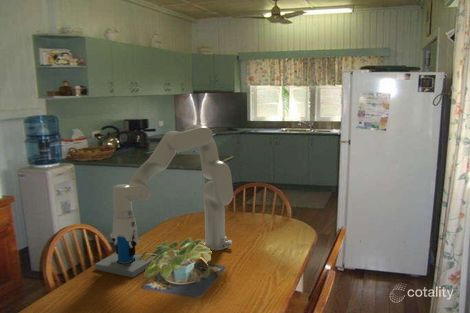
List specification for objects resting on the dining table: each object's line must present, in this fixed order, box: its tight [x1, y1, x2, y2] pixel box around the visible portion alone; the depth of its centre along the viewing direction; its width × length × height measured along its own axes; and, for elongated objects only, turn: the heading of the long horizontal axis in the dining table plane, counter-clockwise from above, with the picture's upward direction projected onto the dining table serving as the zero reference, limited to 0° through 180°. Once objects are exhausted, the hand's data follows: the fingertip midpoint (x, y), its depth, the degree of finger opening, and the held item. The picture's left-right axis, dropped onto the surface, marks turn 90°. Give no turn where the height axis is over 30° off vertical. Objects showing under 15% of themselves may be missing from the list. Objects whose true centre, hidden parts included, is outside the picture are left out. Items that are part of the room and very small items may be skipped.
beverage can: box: [117, 236, 134, 264], centre depth 180 cm, size 6×6×12 cm
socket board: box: [94, 252, 153, 279], centre depth 181 cm, size 20×16×2 cm
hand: (125, 254), depth 180 cm, fingers closed on beverage can, 6 cm apart
